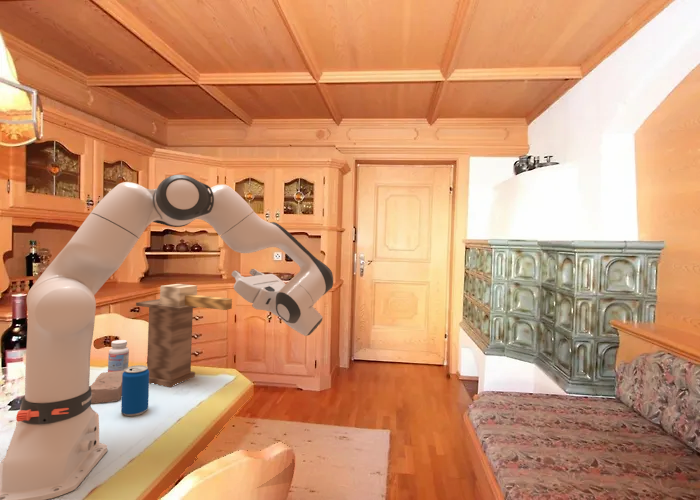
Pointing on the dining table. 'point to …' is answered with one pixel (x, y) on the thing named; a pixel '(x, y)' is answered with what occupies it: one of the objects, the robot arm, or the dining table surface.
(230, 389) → the dining table surface
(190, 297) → the beech mallet
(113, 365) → the pill bottle
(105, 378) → the brick
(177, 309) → the walnut shelf post
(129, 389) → the beverage can
